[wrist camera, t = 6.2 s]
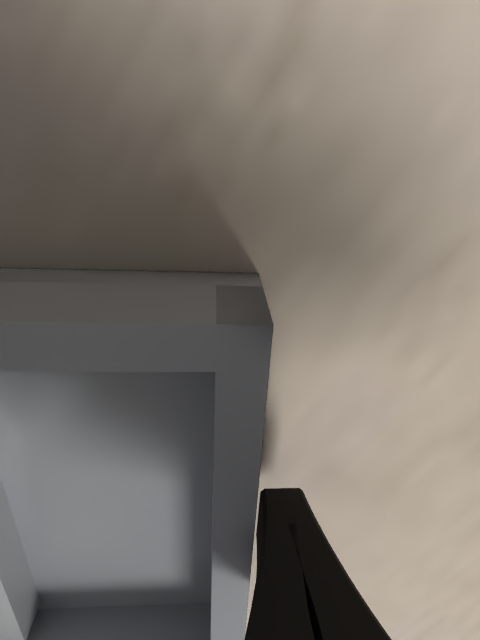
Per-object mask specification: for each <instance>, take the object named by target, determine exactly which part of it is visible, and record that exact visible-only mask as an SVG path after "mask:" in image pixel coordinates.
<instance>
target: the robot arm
mask: <svg viewBox="0 0 480 640" xmlns="http://www.w3.org/2000/svg"><path fill="white" fill-rule="evenodd" d="M256 537H257V577H256V584H255V590H254V596H253V601H252V607H251V612H250V617H249V622H248V626H247V631H246V635H245V640H391V638H390V637H389V636H388V634H387V633H386V631H385V630H384V629H383V627H382V626H381V624H380V623H379V622H378V620H377V619H376V617H375V616H374V614H373V613H372V611H371V610H370V608H369V607H368V605H367V604H366V602H365V601H364V599H363V598H362V596H361V595H360V593H359V592H358V590H357V589H356V587H355V585H354V584H353V582H352V581H351V579H350V578H349V576H348V574H347V573H346V571H345V569H344V568H343V566H342V564H341V563H340V561H339V559H338V558H337V556H336V554H335V553H334V551H333V549H332V547H331V546H330V544H329V542H328V540H327V539H326V537H325V535H324V533H323V531H322V529H321V527H320V526H319V524H318V522H317V520H316V518H315V516H314V514H313V512H312V510H311V508H310V506H309V504H308V502H307V499H306V497H305V495H304V493H303V491H302V490H301V489H300V488H280V489H264V490H262V491H261V492H260V503H259V513H258V523H257V533H256Z"/></svg>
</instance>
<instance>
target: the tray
mask: <svg viewBox="0 0 480 640" xmlns="http://www.w3.org/2000/svg"><path fill="white" fill-rule="evenodd" d="M272 335H273V322H272V318H271V315H270V311H269V308H268V304H267V301H266V297H265V294H264V290H263V287H262V283H261V280H260V277H259V273H216V272H168V271H120V270H72V269H24V268H0V640H244V639H245V628H246V618H247V607H248V596H249V585H250V574H251V563H252V552H253V541H254V531H255V520H256V509H257V498H258V487H259V476H260V465H261V454H262V444H263V433H264V422H265V411H266V400H267V389H268V378H269V367H270V357H271V346H272Z"/></svg>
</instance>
